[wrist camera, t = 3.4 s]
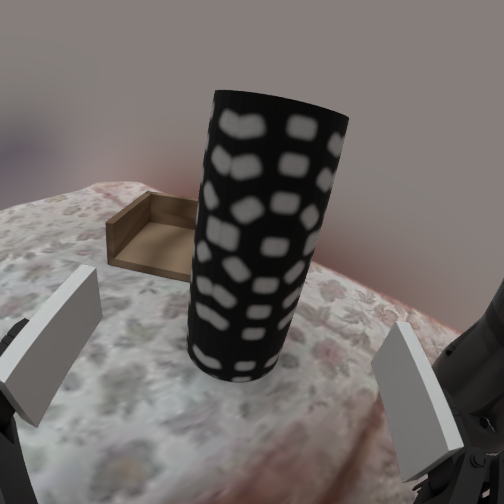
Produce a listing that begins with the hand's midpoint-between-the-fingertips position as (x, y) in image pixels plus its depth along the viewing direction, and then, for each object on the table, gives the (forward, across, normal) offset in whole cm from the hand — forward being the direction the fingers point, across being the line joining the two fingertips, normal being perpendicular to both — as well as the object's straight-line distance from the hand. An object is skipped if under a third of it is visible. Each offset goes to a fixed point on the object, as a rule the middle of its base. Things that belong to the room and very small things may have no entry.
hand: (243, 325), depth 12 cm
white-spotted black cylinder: (+10, 0, -11) cm, 15 cm away
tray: (+24, -10, -11) cm, 29 cm away
